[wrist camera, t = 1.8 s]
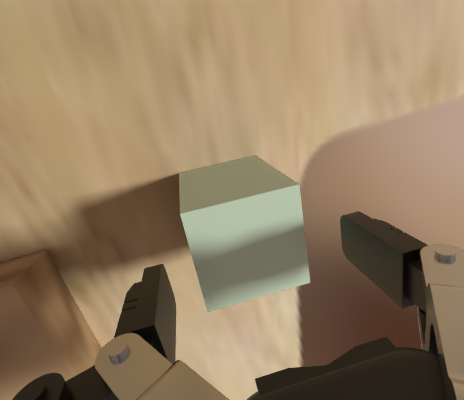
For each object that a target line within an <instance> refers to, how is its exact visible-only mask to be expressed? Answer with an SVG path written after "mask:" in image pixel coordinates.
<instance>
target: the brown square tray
mask: <svg viewBox="0 0 464 400" xmlns="http://www.w3.org/2000/svg"><path fill="white" fill-rule="evenodd" d="M101 349H102V348H101V346H100V344H99V343H98V341H97V339H96V337H95V336H94V334H93V332H92V330H91V329H90V327H89V325H88V323H87V322H86V320H85V318H84V316H83V314H82V313H81V311H80V309H79V307H78V306H77V304H76V302H75V300H74V299H73V297H72V295H71V293H70V291H69V290H68V288H67V286H66V284H65V283H64V281H63V279H62V277H61V276H60V274H59V272H58V270H57V268H56V267H55V265H54V263H53V261H52V260H51V258H50V256H49V254H48V253H47V251H46V249H45V250H42V251H38V252H35V253H32V254H28V255H25V256H22V257H18V258H15V259H11V260H8V261H5V262H1V263H0V400H12V399H13V398H14V397H15V396H16V394H17V393H18V392H19V391H20V390H21V389H22V388H24V387H25V386H26V385H27V384H29V383H30V382H31V381H33V380H35V379H36V378H38V377H40V376H43V375H45V374H48V373H59V374H61V375H62V376H63V378H64V379H65V381H67V380H69V379H71V378H72V377H74V376H76V375H78V374H80V373H81V372H83V371H85V370H87V369H89V368H90V367H92V366H93V365H95V359H96V357H97V354H98V353H99V351H100V350H101Z"/></svg>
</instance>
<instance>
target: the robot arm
mask: <svg viewBox="0 0 464 400" xmlns="http://www.w3.org/2000/svg"><path fill="white" fill-rule="evenodd" d="M340 223H341V224H340V225H341V237H342V238H341V239H342V249H343V252H344V254H345V256H346V258H347V259H348V260H349V261H350V262H351V263H352V264H353V265H354V266H356V267H357V268H358V269H359V270H360V271H361V272H362V273H363V274H364V275H366V276H367V277H368V278H369V279H370V280H371V281H372V282H373V283H374V284H376V285H377V286H378V287H379V288H380V289H381V290H382V291H383V292H385V293H386V294H387V295H388V296H389V297H390V298H391V299H392V300H393V301H395V303H397V304H398V305H399V306H400V307H401V308H405V307H408V306H411V305H417V306H418V320H419V328H420V336H421V344H422V349H417V348H409V347H395V346H394V345H393V344H392V342H391V341H390V340H389V339H388V338H387V337H383V338H380V339H377V340H374V341H371V342H368V343H365V344H362V345H359V346H355V347H354V348H352V349H351V350H349V351H348V352H346V353H345V354H344V355H342V356H340V357H339V358H337V359H336V360H335V361H333V362H332V363H330V364H328V365H325V366H312V367H297V368H287V369H284V370H281V371H278V372H275V373H272V374H269V375H266V376H262V377H259V378H256V379H255V380H256V385H257V389H258V392H256V393H255V394H253V395H252V396H251V397H249V398H248V399H247V400H464V250H463V249H460V248H458V247H455V246H451V245H444V244H435V245H434V244H433V245H426V244H425V243H423V242H421V241H419V240H418V239H416V238H414V237H412V236H410V235H408V234H407V233H403V231H401V230H399V229H398V228H395V227H394V226H392V225H390V224H389V223H387V222H384V221H381V220H377V219H372V218H370V217H368V216H367V215H365V214H363V213H361V212H359V211H358V212H354V213H350V214H346V215H343V216H341V219H340ZM175 346H176V303H175V298H174V294H173V291H172V288H171V285H170V282H169V279H168V276H167V273H166V270H165V267H164V265H163V264H159V265H156V266H152V267H148V268H145V269H144V273H143V277H142V282H138V283H135V284H133V286H132V287H131V288H130V290H129V291H128V292H127V294H126V297H125V301H124V304H123V308H122V312H121V315H120V319H119V322H118V326H117V329H116V333H115V336H114V339H112V340H111V341H109V342H108V343H107V344H106V345H105V346H104V347H103V348H102V349H101V350H100V351H99V353H98V354H97V357H96V359H95V365H93V366H92V367H90V368H89V369H87V370H85V371H83V372H81V373H80V374H78V375H76V376H74V377H72V378H71V379H69V380H67V381H65V379H64V378H63V376H62V375H61V374H59V373H48V374H45V375H43V376H40V377H38V378H36V379H35V380H33V381H31V382H30V383H29V384H27V385H26V386H25V387H24V388H22V389H21V390H20V391H19V392H18V393H17V394H16V396H15V397H14V398H13V399H12V400H229V399H228V398H227V397H225V396H224V395H223V394H222V393H220V392H219V391H218V390H217V389H216V388H214V387H213V386H212V385H211V384H209V383H208V382H207V381H206V380H205V379H203V378H202V377H201V376H200V375H198V374H197V373H196V372H195V371H194V370H192V369H191V368H190V367H189V366H187V365H186V364H185V363H184V362H182V361H180V360H177V361H176V362H175Z"/></svg>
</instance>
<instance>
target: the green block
mask: <svg viewBox="0 0 464 400" xmlns="http://www.w3.org/2000/svg"><path fill="white" fill-rule="evenodd" d="M179 195H180V216H181V220H182V223H183V227H184V230H185V234H186V237H187V241H188V244H189V248H190V251H191V255H192V258H193V262H194V265H195V269H196V272H197V276H198V279H199V283H200V286H201V290H202V293H203V297H204V300H205V304H206V307H207V311H208V312H210V311H214V310H217V309H221V308H224V307H228V306H231V305H235V304H238V303H241V302H245V301H248V300H252V299H255V298H259V297H262V296H265V295H269V294H272V293H276V292H279V291H283V290H286V289H290V288H293V287H296V286H300V285H303V284H307V283H310V276H309V267H308V258H307V250H306V241H305V232H304V223H303V214H302V205H301V196H300V187H299V184H298V183H297V182H295V181H294V180H292V179H291V178H289V177H288V176H286V175H285V174H283V173H282V172H280V171H278V170H277V169H275V168H274V167H272V166H271V165H269V164H268V163H266V162H265V161H263V160H262V159H260V158H259V157H257V156H256V155H254V156H250V157H245V158H241V159H237V160H233V161H228V162H224V163H220V164H215V165H211V166H207V167H203V168H198V169H194V170H190V171H186V172H181V173H179Z"/></svg>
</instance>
